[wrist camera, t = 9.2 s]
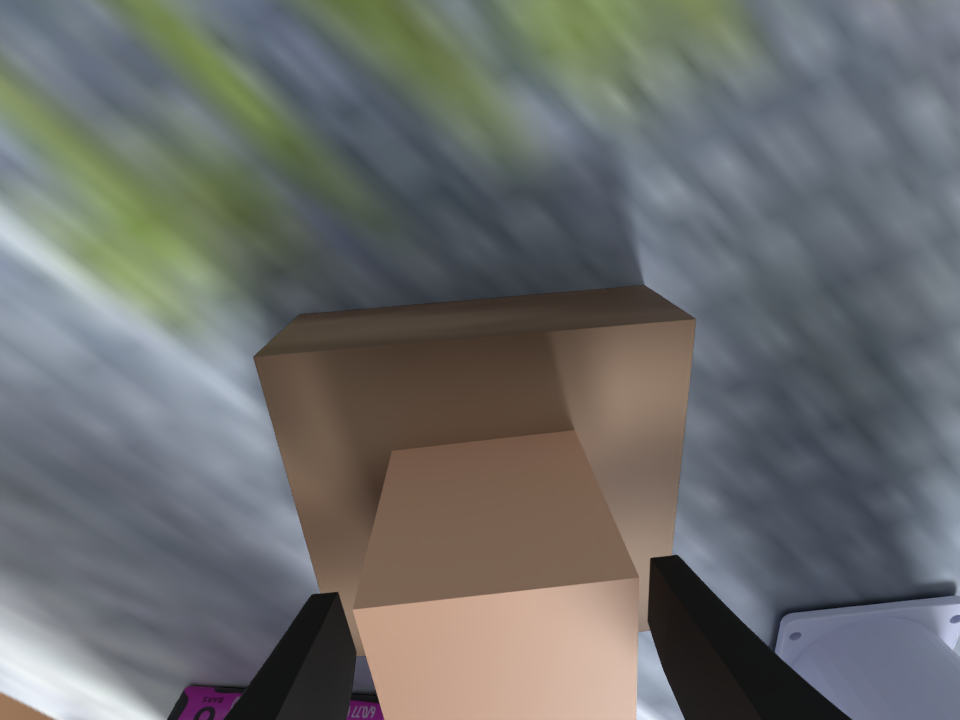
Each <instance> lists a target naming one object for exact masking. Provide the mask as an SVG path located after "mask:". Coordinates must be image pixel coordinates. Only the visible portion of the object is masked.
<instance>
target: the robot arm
mask: <svg viewBox="0 0 960 720" xmlns="http://www.w3.org/2000/svg"><path fill="white" fill-rule="evenodd" d="M647 621H648V624H649V628H650V631H651V634H652V637H653V640H654V643H655V646H656V649H657V652H658V655H659V658H660V661H661V664H662V667H663V670H664V673H665V675H666V677H667V679H668V682H669V684H670V686H671V689H672V691H673V693H674V696H675V698H676V700H677V702H678V705H679V707H680V709H681V712H682V714H683V716H684V718H685V720H960V657H959V656H958V655H957V654H956V653H955V652H954V651H953V649H954V647H955V644H956V642H957V639H958V637H959V634H960V596H946V597H936V598H927V599H918V600H908V601H899V602H890V603H881V604H871V605H862V606H853V607H843V608H834V609H825V610H815V611H806V612H797V613H790V614H788V615H786V616H784V617H783V618H782V620H781V623H780V628H779V633H778V638H777V643H776V648H775V652H774V651H772V650H771V649H770V648H769V647H768V646H767V645H766V644H765V643H764V642H763V641H762V640H761V639H760V638H759V637H758V636H757V635H756V634H755V633H754V632H753V631H751V630H750V629H749V628H748V627H747V626H746V625H745V624H744V623H743V622H742V621H741V620H740V619H739V618H738V617H737V616H736V615H735V614H734V613H733V612H732V611H731V610H730V609H729V608H728V607H727V606H726V605H725V604H724V603H723V602H722V601H721V600H720V599H719V598H718V597H717V596H716V595H715V594H714V593H713V592H712V591H711V590H710V588H709V587H708V586H707V585H706V584H705V583H704V582H703V581H702V580H701V579H700V578H699V577H698V576H697V575H696V574H695V573H694V572H693V571H692V569H691V568H690V567H689V566H688V565H687V564H686V563H685V562H684V561H683V560H682V559H681V558H680V557H679V556H678V555H672V556H662V557H653V558H650V574H649V597H648V620H647ZM356 654H357V652H356V648H355V645H354V642H353V638H352V635H351V632H350V629H349V625H348V622H347V619H346V616H345V612H344V609H343V606H342V602H341V599H340V596H339V593H338V592H331V593H321V594H312V595H311V596H310V598H309V599H308V600H307V602H306V603H305V605H304V606H303V607H302V609H301V610H300V612H299V613H298V615H297V616H296V618H295V619H294V621H293V622H292V624H291V625H290V627H289V628H288V630H287V631H286V633H285V634H284V636H283V637H282V639H281V640H280V642H279V643H278V644H277V646H276V647H275V649H274V650H273V652H272V653H271V655H270V656H269V658H268V659H267V660H266V662H265V663H264V665H263V666H262V667H261V669H260V670H259V671H258V673H257V674H256V676H255V677H254V678H253V680H252V681H251V683H250V684H249V685H248V687H247V688H246V690H245V691H244V692H243V694H242V695H241V696H240V698H239V699H238V700H237V702H236V703H235V704H234V706H233V707H232V708H231V710H230V711H229V712H228V714H227V715H226V716H225V717H224V719H223V720H346V719H347V715H348V710H349V706H350V700H351V693H352V686H353V679H354V671H355V662H356Z"/></svg>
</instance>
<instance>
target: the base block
mask: <svg viewBox="0 0 960 720" xmlns="http://www.w3.org/2000/svg"><path fill="white" fill-rule="evenodd" d="M695 326H696V319H695V318H694V317H692V316H691V315H689V314H688V313H686V312H685V311H683V310H682V309H680V308H679V307H677V306H675V305H674V304H672V303H671V302H669V301H668V300H666V299H665V298H663V297H662V296H660V295H659V294H657V293H656V292H654V291H653V290H651V289H650V288H648V287H647V286H645V285H641V286H629V287H617V288H605V289H594V290H582V291H570V292H558V293H547V294H535V295H523V296H511V297H499V298H488V299H476V300H464V301H452V302H440V303H429V304H417V305H405V306H393V307H382V308H370V309H358V310H346V311H334V312H323V313H311V314H299V315H298V316H297V317H296V318H295V319H294V320H293V321H292V322H291V323H289V324H288V325H287V326H286V327H285V328H284V329H283V330H282V331H281V332H280V333H279V334H278V335H276V336H275V337H274V338H273V339H272V340H271V341H270V342H269V343H268V344H267V345H266V346H264V347H263V348H262V349H261V350H260V351H259V352H258V353H257V354H256V355H255V356H254V357H253V358H254V361H255V365H256V368H257V372H258V375H259V379H260V382H261V386H262V389H263V393H264V397H265V400H266V404H267V407H268V411H269V414H270V418H271V421H272V425H273V428H274V432H275V435H276V439H277V442H278V446H279V449H280V453H281V456H282V460H283V463H284V467H285V470H286V474H287V477H288V481H289V484H290V488H291V491H292V495H293V498H294V502H295V505H296V509H297V512H298V516H299V519H300V523H301V526H302V530H303V533H304V537H305V540H306V544H307V547H308V551H309V555H310V558H311V562H312V565H313V569H314V572H315V576H316V579H317V583H318V586H319V590H320V593H331V592H338V593H339V596H340V599H341V602H342V606H343V609H344V612H345V616H346V619H347V622H348V625H349V629H350V632H351V635H352V638H353V642H354V645H355V648H356V652H357V654H356V656H366V655H365V651H364V648H363V644H362V641H361V637H360V634H359V630H358V627H357V623H356V620H355V617H354V613H353V606H354V602H355V598H356V594H357V590H358V586H359V582H360V577H361V573H362V569H363V565H364V561H365V557H366V553H367V549H368V545H369V541H370V537H371V533H372V529H373V525H374V521H375V517H376V513H377V509H378V505H379V501H380V497H381V493H382V489H383V485H384V481H385V477H386V473H387V469H388V465H389V461H390V457H391V453H392V451H395V450H404V449H412V448H421V447H430V446H439V445H448V444H456V443H465V442H474V441H483V440H491V439H500V438H509V437H518V436H527V435H536V434H545V433H554V432H563V431H572V430H575V432H576V434H577V436H578V438H579V441H580V443H581V445H582V448H583V450H584V452H585V454H586V457H587V459H588V461H589V464H590V466H591V468H592V470H593V473H594V475H595V477H596V479H597V482H598V484H599V486H600V489H601V491H602V493H603V495H604V498H605V500H606V502H607V505H608V507H609V509H610V511H611V514H612V516H613V518H614V521H615V523H616V525H617V527H618V530H619V532H620V534H621V536H622V539H623V541H624V543H625V546H626V548H627V550H628V552H629V555H630V557H631V559H632V562H633V564H634V566H635V568H636V571H637V573H638V575H639V578H640V580H639V620H638V632H643V631H650V628H649V624H648V621H647V620H648V597H649V574H650V558H653V557H662V556H672V546H673V537H674V527H675V518H676V508H677V499H678V489H679V479H680V470H681V460H682V451H683V441H684V431H685V422H686V412H687V403H688V393H689V384H690V374H691V364H692V355H693V345H694V336H695Z"/></svg>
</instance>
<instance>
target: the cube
mask: <svg viewBox="0 0 960 720" xmlns="http://www.w3.org/2000/svg"><path fill="white" fill-rule="evenodd" d="M639 580H640V578H639V575H638V573H637V571H636V568H635V566H634V564H633V562H632V559H631V557H630V555H629V552H628V550H627V548H626V546H625V543H624V541H623V539H622V536H621V534H620V532H619V530H618V527H617V525H616V523H615V521H614V518H613V516H612V514H611V511H610V509H609V507H608V505H607V502H606V500H605V498H604V495H603V493H602V491H601V489H600V486H599V484H598V482H597V479H596V477H595V475H594V473H593V470H592V468H591V466H590V464H589V461H588V459H587V457H586V454H585V452H584V450H583V448H582V445H581V443H580V441H579V438H578V436H577V434H576V432H575V430H572V431H563V432H554V433H545V434H536V435H527V436H518V437H509V438H500V439H491V440H483V441H474V442H465V443H456V444H448V445H439V446H430V447H421V448H412V449H404V450H395V451H392V453H391V457H390V461H389V465H388V469H387V473H386V477H385V481H384V485H383V489H382V493H381V497H380V501H379V505H378V509H377V513H376V517H375V521H374V525H373V529H372V533H371V537H370V541H369V545H368V549H367V553H366V557H365V561H364V565H363V569H362V573H361V577H360V582H359V586H358V590H357V594H356V598H355V602H354V606H353V613H354V617H355V620H356V623H357V627H358V630H359V634H360V637H361V641H362V644H363V648H364V651H365V655H366V658H367V661H368V665H369V668H370V672H371V675H372V679H373V682H374V686H375V689H376V692H377V696H378V699H379V703H380V706H381V710H382V713H383V717H384V720H636V701H637V661H638V620H639Z"/></svg>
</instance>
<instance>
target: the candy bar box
mask: <svg viewBox="0 0 960 720" xmlns="http://www.w3.org/2000/svg"><path fill="white" fill-rule="evenodd" d="M245 690H246V689H235V688H219V687H200V686H187V687H185V689H184V690H183V692H182V694H181V696H180V698H179V699H178V701H177V702H176V704H175V706H174V708H173V710H172V712H171V714H170V715H169V717H168V719H167V720H223V719H224V717H225V716H226V715H227V714H228V712H229V711H230V710H231V708H232V707H233V706H234V704H235V703H236V702H237V700H238V699H239V698H240V696H241V695H242V694H243V692H244V691H245ZM346 720H384V717H383V713H382V710H381V706H380V703H379V699H378V696H370V695H352V694H351V700H350V706H349V710H348V715H347V719H346Z"/></svg>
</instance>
